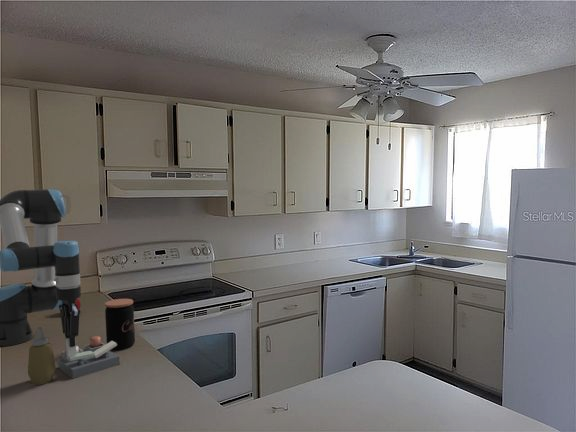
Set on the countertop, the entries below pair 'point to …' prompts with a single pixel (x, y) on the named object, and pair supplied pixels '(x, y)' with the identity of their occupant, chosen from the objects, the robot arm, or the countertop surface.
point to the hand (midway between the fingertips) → (71, 355)
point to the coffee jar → (120, 323)
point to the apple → (78, 304)
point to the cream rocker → (105, 349)
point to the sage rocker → (81, 355)
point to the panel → (87, 362)
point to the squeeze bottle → (41, 360)
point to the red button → (95, 341)
